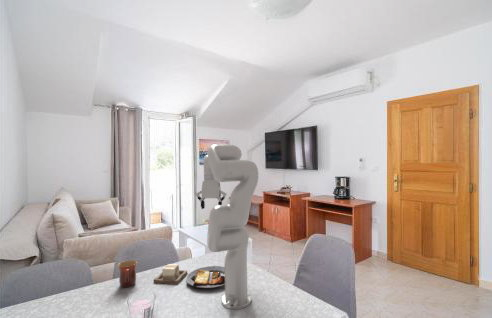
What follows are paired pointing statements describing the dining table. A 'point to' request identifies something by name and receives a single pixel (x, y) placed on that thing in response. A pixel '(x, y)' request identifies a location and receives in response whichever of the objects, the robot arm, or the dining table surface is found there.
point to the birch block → (171, 271)
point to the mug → (127, 273)
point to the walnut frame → (166, 281)
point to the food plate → (206, 277)
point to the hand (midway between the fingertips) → (211, 208)
